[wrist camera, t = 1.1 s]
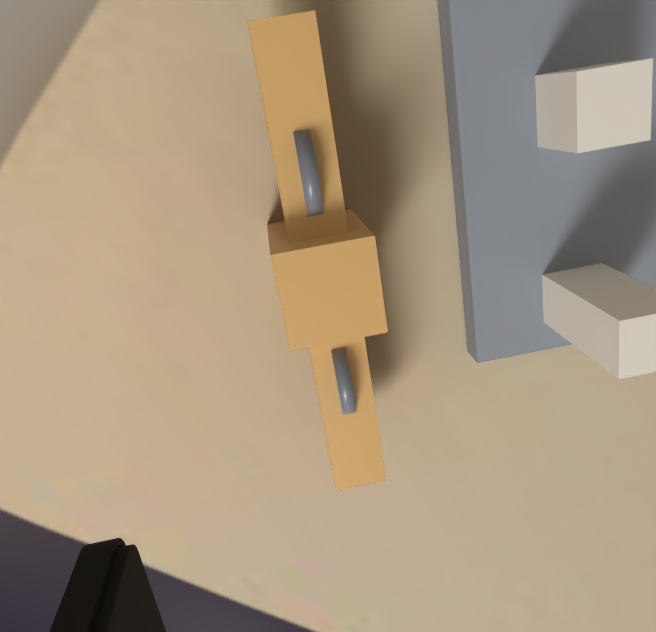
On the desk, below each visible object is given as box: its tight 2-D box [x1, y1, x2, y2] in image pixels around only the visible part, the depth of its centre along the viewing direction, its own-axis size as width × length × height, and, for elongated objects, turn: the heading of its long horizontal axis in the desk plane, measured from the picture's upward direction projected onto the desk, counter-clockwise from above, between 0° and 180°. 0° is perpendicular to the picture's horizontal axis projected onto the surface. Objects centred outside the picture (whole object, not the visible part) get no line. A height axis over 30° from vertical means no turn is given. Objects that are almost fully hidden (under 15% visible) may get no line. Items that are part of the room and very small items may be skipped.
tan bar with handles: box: [248, 10, 388, 491], centre depth 26 cm, size 4×20×6 cm, turn 9°
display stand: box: [438, 0, 656, 379], centre depth 24 cm, size 10×23×8 cm, turn 9°
